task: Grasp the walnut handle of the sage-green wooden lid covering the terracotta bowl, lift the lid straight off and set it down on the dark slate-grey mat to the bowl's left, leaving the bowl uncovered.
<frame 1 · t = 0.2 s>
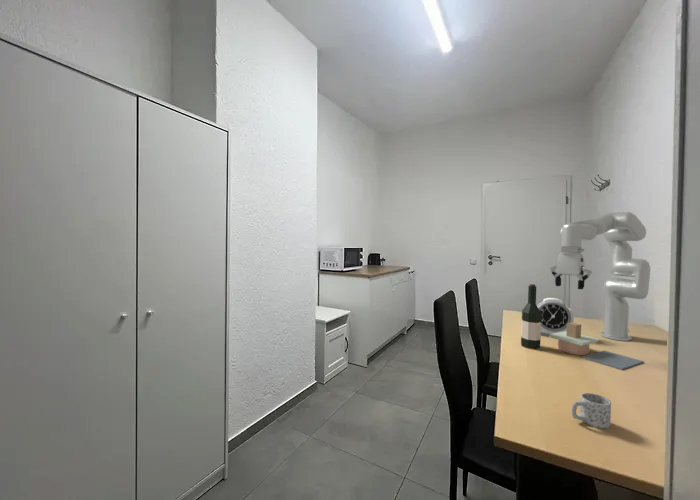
hand: (569, 287, 144), 29 cm above the table, tool pointing down, fingers open, 9 cm apart
clementine: (573, 344, 144), point 3 cm above the table, touching bowl
bowl: (572, 350, 144), on the table
lid: (573, 338, 144), point 5 cm above the table, touching bowl
mug: (588, 422, 87), on the table
mat: (612, 360, 133), on the table
alarm clock: (551, 336, 166), on the table
wine bottle: (530, 346, 149), on the table
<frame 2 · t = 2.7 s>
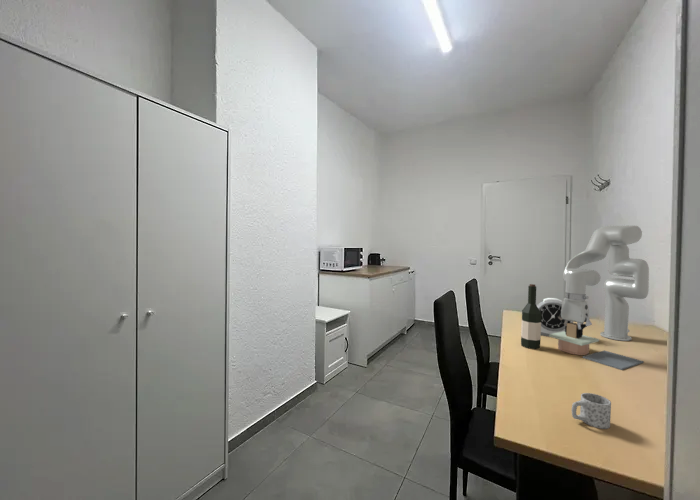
hand: (573, 335, 144), 7 cm above the table, tool pointing down, fingers closed on lid, 4 cm apart
lid: (573, 338, 144), point 6 cm above the table, touching bowl, gripper
everything else where it was.
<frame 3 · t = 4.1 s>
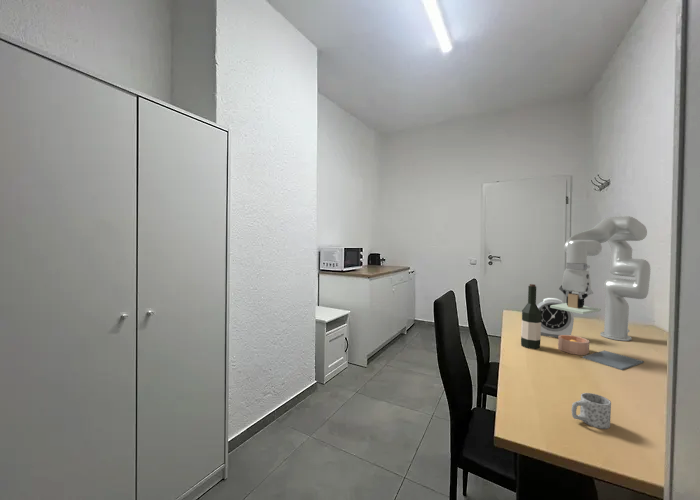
hand: (574, 305, 143), 21 cm above the table, tool pointing down, fingers closed on lid, 4 cm apart
lid: (574, 309, 144), point 19 cm above the table, touching gripper
everything else where it was.
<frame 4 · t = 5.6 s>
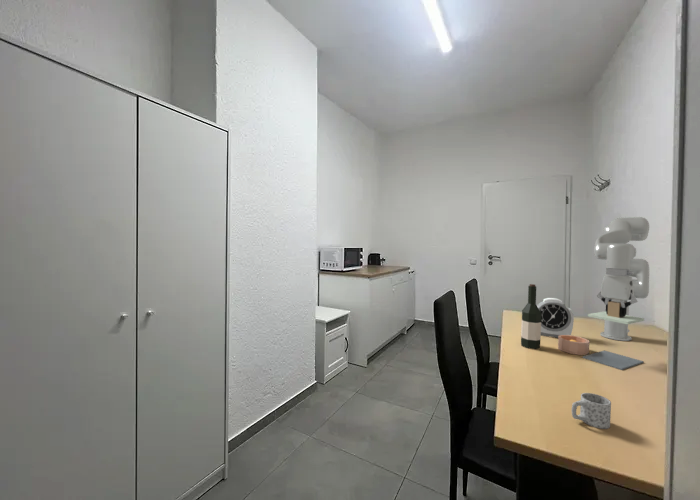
hand: (615, 314, 133), 20 cm above the table, tool pointing down, fingers closed on lid, 4 cm apart
lid: (615, 318, 133), point 18 cm above the table, touching gripper
everything else where it was.
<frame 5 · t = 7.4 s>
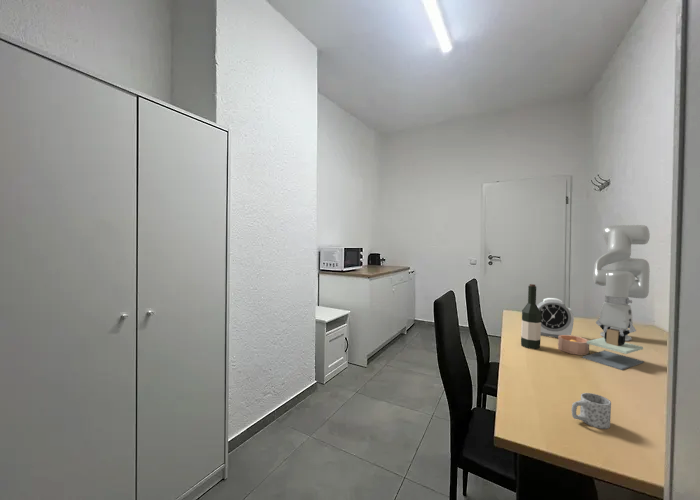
hand: (614, 342, 133), 8 cm above the table, tool pointing down, fingers closed on lid, 4 cm apart
lid: (614, 346, 133), point 6 cm above the table, touching gripper
everything else where it was.
when the fingers open (4 cm above the table, at t = 8.6 s): lid drops 2 cm, resting on mat.
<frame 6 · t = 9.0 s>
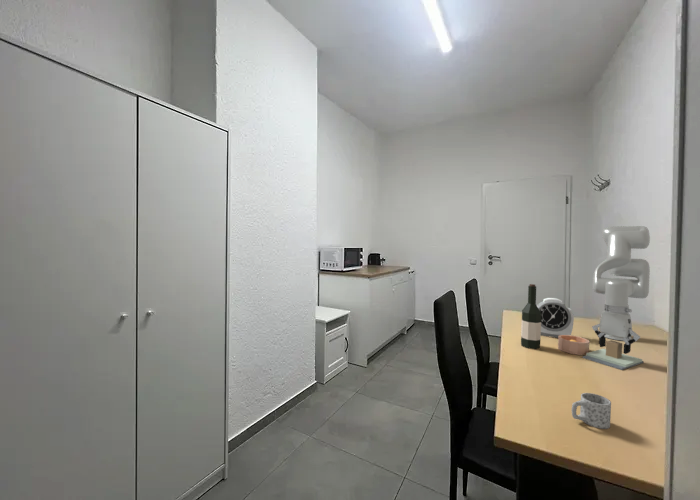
hand: (614, 349, 133), 4 cm above the table, tool pointing down, fingers open, 8 cm apart
lid: (613, 358, 133), point 1 cm above the table, touching mat
everything else where it was.
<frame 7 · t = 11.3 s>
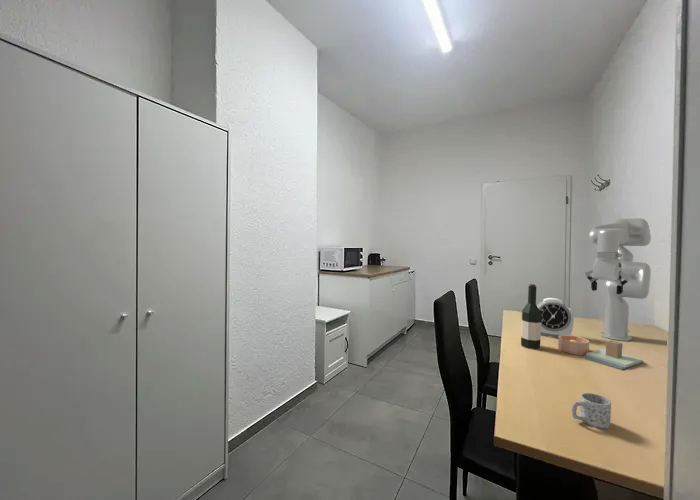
hand: (606, 292, 145), 27 cm above the table, tool pointing down, fingers open, 9 cm apart
nothing on the table moved.
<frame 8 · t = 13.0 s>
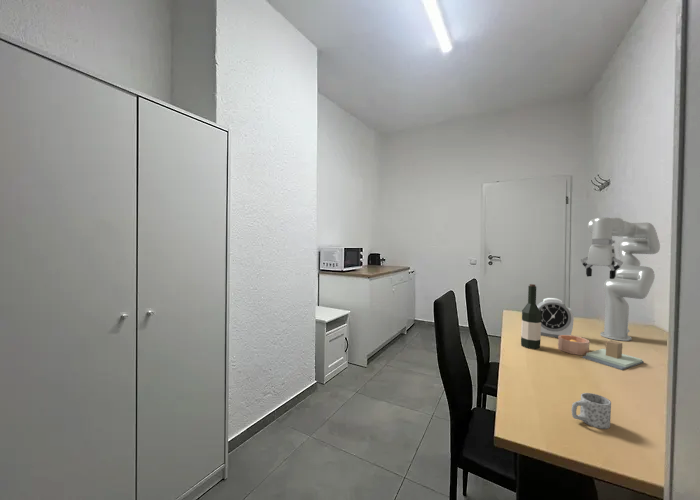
hand: (600, 277, 152), 33 cm above the table, tool pointing down, fingers open, 9 cm apart
nothing on the table moved.
at the end: lid inside the target area on the mat (1.0 cm from its centre), point 0.6 cm above the mat's base; lid touching mat; lid tilted 0° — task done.
